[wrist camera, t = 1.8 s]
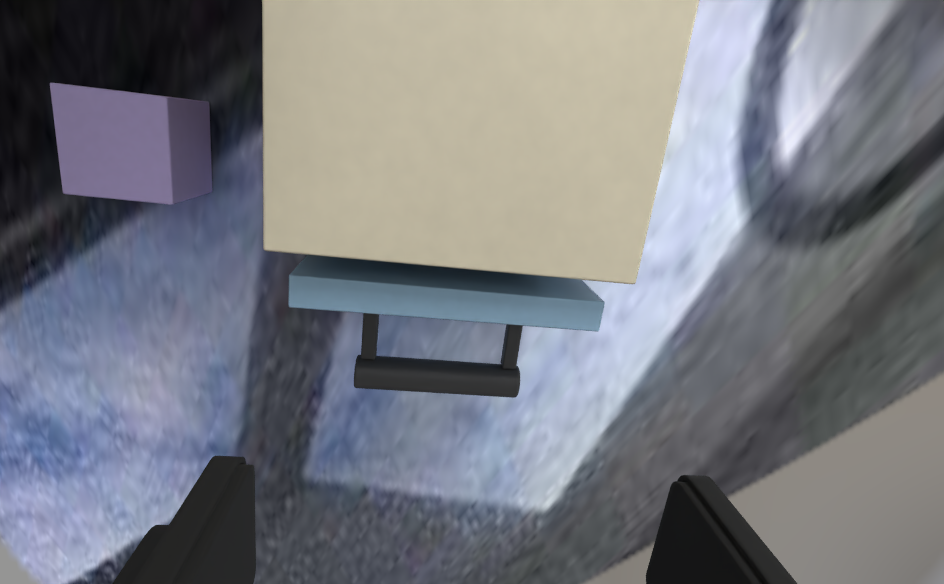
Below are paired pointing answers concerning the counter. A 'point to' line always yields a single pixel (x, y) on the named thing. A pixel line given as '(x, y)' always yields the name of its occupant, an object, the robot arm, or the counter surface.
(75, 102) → the lavender cube
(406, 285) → the blue drawer
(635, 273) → the drawer cabinet
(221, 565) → the robot arm
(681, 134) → the counter surface
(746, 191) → the counter surface
